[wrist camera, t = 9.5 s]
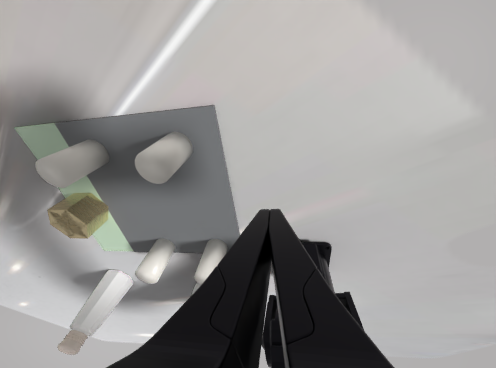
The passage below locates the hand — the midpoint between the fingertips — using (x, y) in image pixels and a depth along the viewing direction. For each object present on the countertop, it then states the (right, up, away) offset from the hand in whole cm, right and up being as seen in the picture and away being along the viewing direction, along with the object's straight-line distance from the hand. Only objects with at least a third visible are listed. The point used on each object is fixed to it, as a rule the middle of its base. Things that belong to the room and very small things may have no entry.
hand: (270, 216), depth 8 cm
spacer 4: (-5, -7, +19) cm, 21 cm away
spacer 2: (-8, +5, +12) cm, 15 cm away
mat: (-14, 0, +17) cm, 22 cm away
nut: (-22, -2, +18) cm, 29 cm away
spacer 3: (-13, -8, +21) cm, 26 cm away
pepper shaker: (-25, -16, +28) cm, 41 cm away
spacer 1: (-18, +5, +13) cm, 23 cm away
